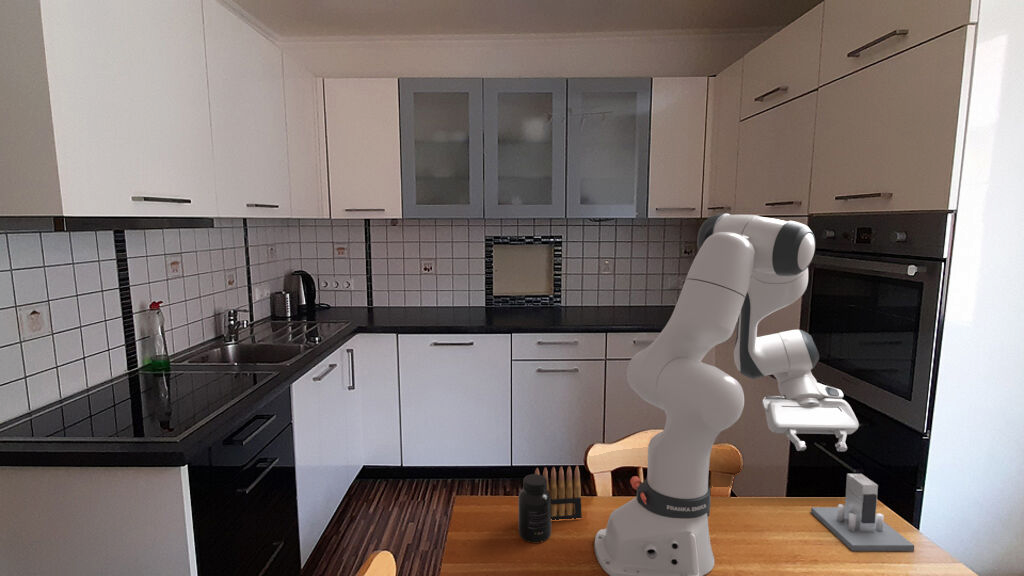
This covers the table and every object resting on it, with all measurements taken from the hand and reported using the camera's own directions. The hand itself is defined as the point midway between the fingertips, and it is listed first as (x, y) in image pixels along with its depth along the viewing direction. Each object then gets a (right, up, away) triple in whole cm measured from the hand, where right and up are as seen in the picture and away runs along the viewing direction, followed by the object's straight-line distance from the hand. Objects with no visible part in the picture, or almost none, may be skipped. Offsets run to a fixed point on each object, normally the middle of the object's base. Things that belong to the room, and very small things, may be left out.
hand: (822, 450), depth 118 cm
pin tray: (+1, -13, -11) cm, 17 cm away
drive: (+1, -12, -11) cm, 16 cm away
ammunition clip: (-62, -13, -6) cm, 64 cm away
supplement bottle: (-67, -14, -12) cm, 69 cm away
